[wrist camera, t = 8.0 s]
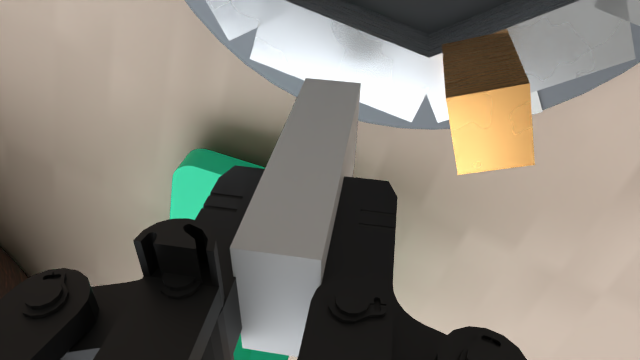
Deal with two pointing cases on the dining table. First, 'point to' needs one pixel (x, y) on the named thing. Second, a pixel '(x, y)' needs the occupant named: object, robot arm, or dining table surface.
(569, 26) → the ring nut
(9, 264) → the wooden bowl
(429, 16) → the base plate
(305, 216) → the robot arm
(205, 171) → the camera mount
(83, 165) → the dining table surface
